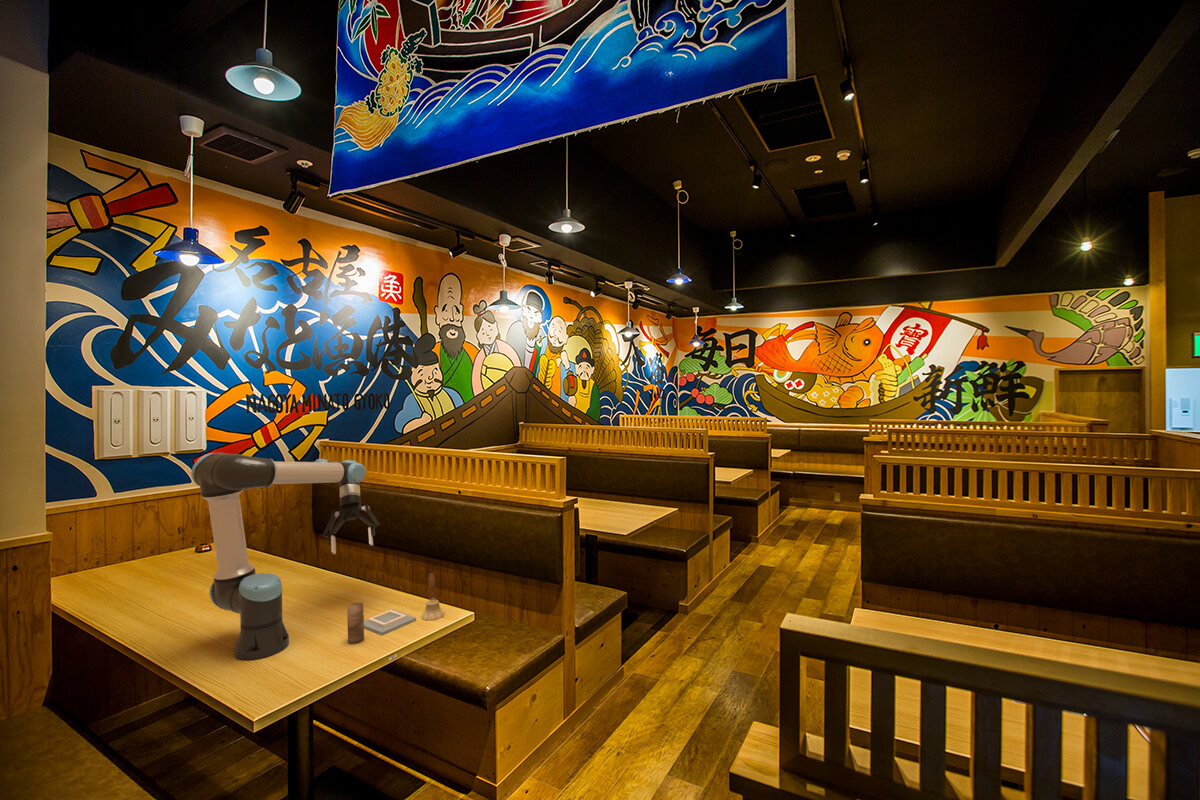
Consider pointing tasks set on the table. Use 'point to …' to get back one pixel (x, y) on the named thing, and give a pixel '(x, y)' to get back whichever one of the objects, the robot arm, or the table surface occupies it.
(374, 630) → the board
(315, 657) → the table surface
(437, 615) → the hand bell
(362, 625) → the walnut pin
